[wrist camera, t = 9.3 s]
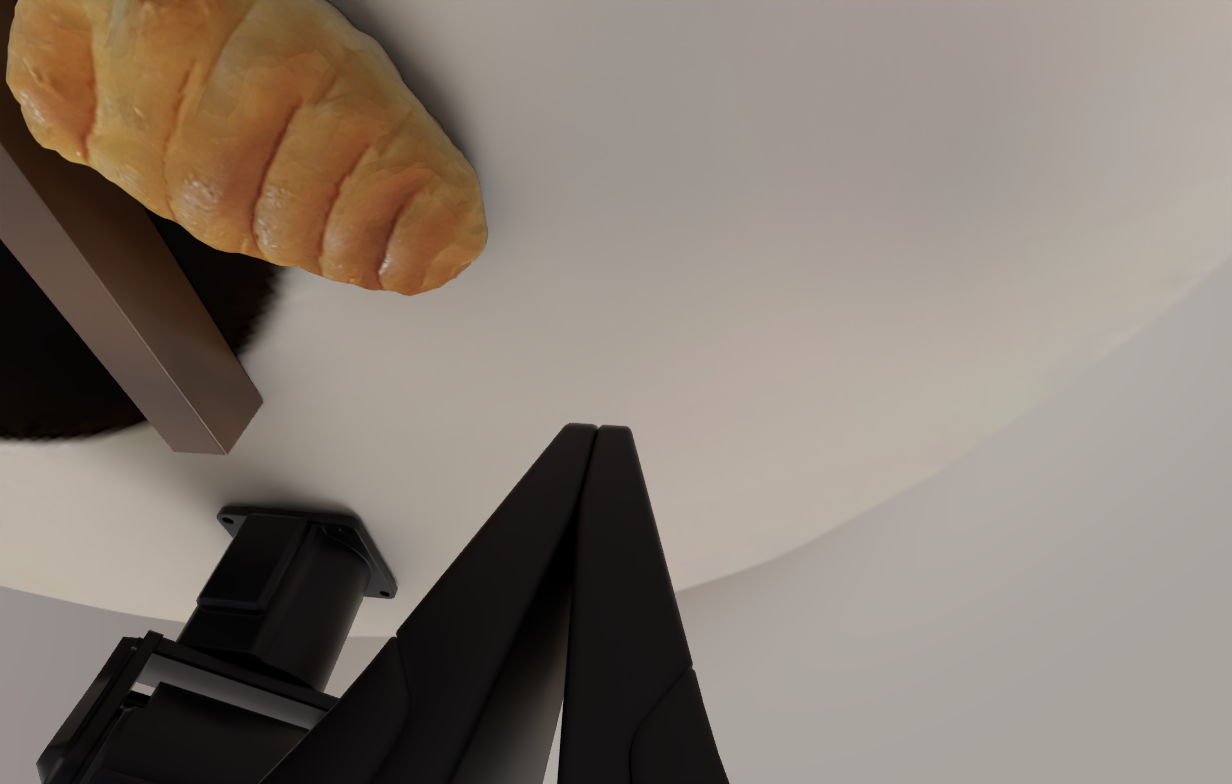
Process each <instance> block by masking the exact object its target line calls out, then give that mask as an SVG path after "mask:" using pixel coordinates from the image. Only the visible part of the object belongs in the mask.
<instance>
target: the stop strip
mask: <svg viewBox="0 0 1232 784" xmlns="http://www.w3.org/2000/svg"><path fill="white" fill-rule="evenodd" d="M16 4H17V2H16V0H0V239H1V240H2V241H3V242H4V244H5V245H6V246H7V247H8V249H9V250H10V251H11V252H12V253H13V255H14V256H15V257H16V258H17V260H18V261H19V262H20V263H21V264H22V266H23V267H24V268H25V269H26V271H27V272H28V273H29V274H30V276H31V277H32V278H33V279H34V280H35V282H36V283H37V284H38V285H39V287H40V288H41V289H42V290H43V291H44V293H45V294H46V295H47V296H48V298H49V299H50V300H51V301H52V303H53V304H54V305H55V306H56V307H57V309H58V310H59V311H60V312H61V314H62V315H63V316H64V317H65V318H66V320H67V321H68V322H69V323H70V325H71V326H72V327H73V328H74V330H75V331H76V332H77V333H78V334H79V336H80V337H81V338H82V339H83V341H84V342H85V343H86V344H87V346H88V347H89V348H90V349H91V350H92V352H93V353H94V354H95V355H96V357H97V358H98V359H99V360H100V361H101V363H102V364H103V365H104V366H105V368H106V369H107V370H108V371H109V373H110V374H111V375H112V376H113V377H114V379H115V380H116V381H117V382H118V384H119V385H120V386H121V387H122V388H123V390H124V391H125V392H126V393H127V395H128V396H129V397H130V398H131V400H132V401H133V402H134V403H135V404H136V406H137V407H138V408H139V409H140V411H141V412H142V413H143V414H144V415H145V417H146V418H147V419H148V420H149V422H150V423H151V424H152V425H153V427H154V428H155V429H156V430H157V431H158V433H159V434H160V435H161V436H162V438H163V439H164V440H165V441H166V442H167V444H168V445H169V446H170V447H171V449H172V450H173V451H175V452H187V453H200V454H214V455H228V454H229V452H230V451H231V449H232V448H233V446H234V445H235V443H236V442H237V440H238V439H239V437H240V436H241V434H242V433H243V432H244V430H245V429H246V427H247V426H248V424H249V423H250V421H251V420H252V418H253V417H254V415H255V414H256V412H257V411H258V409H259V408H260V406H261V405H262V404H263V400H262V399H261V397H260V396H259V394H258V392H257V391H256V389H255V387H254V386H253V384H252V383H251V381H250V379H249V378H248V376H247V374H246V373H245V371H244V370H243V368H242V366H241V365H240V363H239V362H238V360H237V358H236V357H235V355H234V353H233V352H232V350H231V349H230V347H229V345H228V344H227V342H226V340H225V339H224V337H223V336H222V334H221V332H220V331H219V329H218V327H217V326H216V324H215V323H214V321H213V319H212V318H211V316H210V315H209V313H208V311H207V310H206V308H205V306H204V305H203V303H202V302H201V300H200V298H199V297H198V295H197V293H196V292H195V290H194V289H193V287H192V285H191V284H190V282H189V280H188V279H187V277H186V276H185V274H184V272H183V271H182V269H181V268H180V266H179V264H178V263H177V261H176V259H175V258H174V256H173V255H172V253H171V251H170V250H169V248H168V246H167V245H166V243H165V242H164V240H163V238H162V237H161V235H160V233H159V232H158V230H157V229H156V227H155V225H154V224H153V222H152V221H151V219H150V217H149V216H148V214H147V212H146V211H145V209H144V208H143V206H142V204H141V203H140V202H139V201H138V200H137V199H135V198H134V197H133V196H131V195H130V194H128V193H127V192H126V191H125V190H123V189H122V188H121V187H120V186H118V185H117V184H116V183H114V182H111V181H110V180H108V179H107V178H105V177H104V176H103V175H102V174H101V173H99V172H98V171H97V170H95V169H93V168H92V167H90V166H87V165H84V164H80V163H75V162H70V161H69V160H67V159H65V158H64V157H62V156H61V155H60V154H59V153H58V152H57V151H56V150H51V149H47V148H44V147H42V146H41V145H40V144H39V143H38V142H37V141H36V140H35V138H34V137H33V135H32V134H31V132H30V131H29V128H28V126H27V124H26V122H25V119H24V117H23V114H22V111H21V104H20V103H19V102H18V101H17V100H16V98H15V97H14V95H13V93H12V91H11V89H10V87H9V86H8V84H7V82H6V71H7V61H8V44H9V39H10V30H11V25H12V22H13V19H14V17H15V6H16Z"/></svg>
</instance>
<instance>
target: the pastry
mask: <svg viewBox="0 0 1232 784" xmlns="http://www.w3.org/2000/svg"><path fill="white" fill-rule="evenodd" d="M6 82H7V84H8V86H9V87H10V89H11V91H12V93H13V95H14V97H15V98H16V100H17V101H18V102H19V103H20V104H21V111H22V114H23V117H24V119H25V122H26V124H27V126H28V128H29V131H30V132H31V134H32V135H33V137H34V138H35V140H36V141H37V142H38V143H39V144H40V145H41V146H42V147H44V148H47V149H51V150H56V151H57V152H58V153H59V154H60V155H61V156H62V157H64V158H65V159H67V160H69V161H70V162H75V163H80V164H84V165H87V166H90V167H92V168H93V169H95V170H97V171H98V172H99V173H101V174H102V175H103V176H104V177H105V178H107V179H108V180H110V181H111V182H114V183H116V184H117V185H118V186H120V187H121V188H122V189H123V190H125V191H126V192H127V193H128V194H130V195H131V196H133V197H134V198H135V199H137V200H138V201H139V202H141V203H142V204H143V205H144V206H146V207H147V208H148V209H149V210H151V211H153V212H154V213H156V214H157V215H159V216H161V217H164V218H167V219H170V220H173V221H175V222H176V223H178V224H180V225H182V226H183V227H184V228H185V229H186V230H187V231H188V232H190V233H191V234H192V235H193V236H194V237H195V238H197V239H198V240H200V241H202V242H204V243H206V244H207V245H209V246H211V247H213V248H215V249H217V250H221V251H225V252H234V253H242V254H246V255H249V256H252V257H256V258H260V259H263V260H266V261H268V262H271V263H274V264H277V265H280V266H292V267H300V268H303V269H304V270H306V271H308V272H311V273H314V274H317V275H320V276H322V277H325V278H327V279H330V280H332V281H337V282H343V283H348V284H354V285H357V286H360V287H362V288H365V289H368V290H386V291H396V292H398V293H401V294H403V295H408V296H411V295H415V294H418V293H422V292H426V291H429V290H432V289H436V288H439V287H441V286H442V285H444V284H445V283H446V282H448V281H449V280H451V279H454V278H456V277H457V276H458V275H459V274H460V273H461V272H462V271H463V270H464V269H465V268H467V267H468V266H469V265H470V264H471V262H472V261H473V260H475V259H476V258H477V257H478V256H479V255H480V254H481V253H482V251H483V249H484V247H485V246H486V242H487V237H488V228H487V223H486V218H485V212H484V205H483V198H482V192H481V187H480V184H479V180H478V176H477V173H476V171H475V170H474V169H473V167H472V166H471V165H470V164H469V163H468V161H467V160H466V159H465V157H464V155H463V152H462V151H460V150H458V149H457V148H456V147H455V146H454V145H453V144H452V143H451V141H450V139H449V137H448V136H446V135H445V132H444V130H443V128H442V126H441V124H440V123H439V122H438V121H437V119H436V118H435V117H433V116H431V115H429V114H428V112H427V111H426V109H425V108H424V106H423V105H422V104H421V102H420V101H419V100H418V99H417V98H416V97H415V96H414V95H413V93H412V92H411V91H410V90H409V89H408V87H407V86H406V85H405V83H404V82H403V80H402V77H401V75H400V72H399V70H398V68H397V66H396V65H395V63H394V62H393V61H392V60H391V58H390V57H389V56H388V54H387V53H386V52H385V50H384V49H383V48H382V46H381V45H380V44H379V43H378V42H377V41H376V40H375V39H374V38H373V37H371V36H369V35H367V34H365V33H363V32H360V31H358V30H357V29H356V27H355V26H354V25H353V24H351V23H350V22H349V21H348V20H347V19H346V18H345V16H344V15H343V14H342V13H341V12H340V11H339V10H338V9H337V8H336V7H335V6H333V5H332V4H331V3H329V2H328V1H327V0H18V2H17V4H16V6H15V17H14V19H13V22H12V25H11V30H10V39H9V44H8V61H7V71H6Z"/></svg>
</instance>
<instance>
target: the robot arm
mask: <svg viewBox="0 0 1232 784" xmlns="http://www.w3.org/2000/svg"><path fill="white" fill-rule="evenodd" d="M217 519H218V521H219V522H220V523H221V524H222V525H223V527H224V528H225V529H226V530H227V531H228V533H229V534H230V535H231V536H232V537H233V540H232V541H231V543H230V544H229V546H228V548H227V549H226V551H225V553H224V554H223V556H222V558H221V559H220V561H219V563H218V564H217V566H216V568H215V569H214V571H213V573H212V574H211V576H210V578H209V579H208V581H207V582H206V584H205V586H204V587H203V589H202V591H201V592H200V594H199V596H198V597H197V600H196V601H197V604H198V605H197V607H196V608H195V610H194V612H193V613H192V615H191V617H190V618H189V620H188V622H187V623H186V625H185V627H184V628H183V630H182V632H181V633H180V635H179V637H178V638H177V640H176V642H175V641H172V640H169V639H167V638H163V634H160V633H157V632H154V631H152V630H149V631H148V633H147V634H146V636H145V637H144V639H143V638H140V637H139V638H133V637H123V638H122V640H121V641H120V643H119V644H118V646H117V647H116V649H115V650H114V652H113V653H112V654H111V656H110V658H109V659H108V661H107V662H106V664H105V665H104V667H103V668H102V670H101V671H100V673H99V674H98V676H97V677H96V678H95V680H94V681H93V683H92V684H91V686H90V687H89V689H88V690H87V691H86V693H85V694H84V696H83V697H82V699H81V700H80V701H79V702H78V704H77V705H76V707H75V708H74V709H73V711H72V712H71V714H70V715H69V717H68V718H67V719H66V721H65V722H64V724H63V725H62V726H61V728H60V729H59V730H58V732H57V733H56V735H55V736H54V737H53V739H52V740H51V742H50V743H49V744H48V746H47V747H46V749H45V750H44V752H43V753H42V755H41V756H40V758H39V759H38V761H37V763H36V765H37V769H38V773H39V776H40V780H41V783H42V784H542V783H543V779H544V775H545V771H546V767H547V762H548V759H549V754H550V750H551V746H552V742H553V738H554V734H555V730H556V726H557V721H558V717H559V713H560V709H561V705H562V701H563V700H564V701H563V713H562V726H561V739H560V753H559V767H558V781H557V784H729V781H728V778H727V776H726V773H725V770H724V768H723V765H722V762H721V759H720V756H719V754H718V750H717V747H716V744H715V740H714V737H713V734H712V730H711V727H710V724H709V720H708V717H707V714H706V710H705V707H704V704H703V700H702V696H701V692H700V688H699V684H698V681H697V677H696V673H695V671H694V670H693V669H692V665H693V663H692V659H691V655H690V651H689V648H688V644H687V640H686V636H685V632H684V629H683V625H682V621H681V617H680V613H679V610H678V606H677V602H676V598H675V594H674V591H673V587H672V583H671V579H670V575H669V572H668V568H667V564H666V560H665V556H664V553H663V549H662V545H661V541H660V537H659V534H658V530H657V526H656V522H655V518H654V515H653V511H652V507H651V503H650V499H649V496H648V492H647V488H646V484H645V480H644V477H643V473H642V469H641V465H640V461H639V458H638V454H637V450H636V446H635V442H634V439H633V435H632V432H631V429H630V428H629V427H627V426H615V425H602V426H600V428H598V427H597V426H596V425H594V424H582V423H569V424H567V425H565V426H564V427H563V428H562V430H561V431H560V432H559V433H558V435H557V436H556V437H555V438H554V439H553V441H552V442H551V443H550V444H549V446H548V447H547V448H546V449H545V450H544V452H543V453H542V454H541V455H540V457H539V458H538V459H537V460H536V461H535V463H534V464H533V465H532V466H531V468H530V469H529V470H528V471H527V472H526V474H525V475H524V476H523V477H522V479H521V480H520V481H519V482H518V483H517V485H516V486H515V487H514V488H513V490H512V491H511V492H510V493H509V494H508V496H507V497H506V498H505V499H504V501H503V502H502V503H501V504H500V505H499V507H498V508H497V509H496V510H495V512H494V513H493V514H492V515H491V516H490V518H489V519H488V520H487V521H486V522H485V524H484V525H483V526H482V527H481V529H480V530H479V531H478V532H477V533H476V535H475V536H474V537H473V538H472V540H471V541H470V542H469V543H468V544H467V546H466V547H465V548H464V549H463V551H462V552H461V553H460V554H459V555H458V557H457V558H456V559H455V560H454V562H453V563H452V564H451V565H450V566H449V568H448V569H447V570H446V571H445V573H444V574H443V575H442V576H441V577H440V579H439V580H438V581H437V582H436V584H435V585H434V586H433V587H432V588H431V590H430V591H429V592H428V593H427V595H426V596H425V597H424V598H423V599H422V601H421V602H420V603H419V604H418V606H417V607H416V608H415V609H414V610H413V612H412V613H411V614H410V615H409V617H408V618H407V619H406V620H405V621H404V623H403V624H402V625H401V626H400V628H399V629H398V630H397V632H396V635H397V638H396V637H391V638H390V639H389V640H388V642H387V643H386V644H385V645H384V647H383V648H382V649H381V650H380V652H379V653H378V654H377V655H376V657H375V658H374V659H373V660H372V662H371V663H370V664H369V665H368V666H367V667H366V669H365V670H364V671H363V672H362V674H360V676H359V677H358V678H357V679H356V680H355V681H354V683H353V684H352V685H351V686H350V687H349V688H348V689H347V691H346V692H345V693H344V694H343V695H342V697H341V698H337V697H334V696H331V695H328V694H325V693H323V692H324V690H325V688H326V685H327V683H328V680H329V678H330V676H331V673H332V671H333V669H334V666H335V664H336V661H337V659H338V657H339V654H340V652H341V649H342V647H343V645H344V642H345V640H346V638H347V635H348V633H349V631H350V628H351V626H352V623H353V621H354V619H355V616H356V614H357V612H358V609H359V607H360V604H361V602H362V600H363V597H364V596H365V597H376V598H386V599H392V598H394V597H395V595H396V592H397V590H398V588H397V586H396V584H395V582H394V580H393V579H392V577H391V575H390V573H389V572H388V570H387V568H386V566H385V565H384V563H383V561H382V560H381V558H380V556H379V554H378V553H377V551H376V549H375V547H374V546H373V544H372V542H371V540H370V539H369V537H368V535H367V533H366V532H365V530H364V528H363V527H362V525H361V523H360V522H359V521H358V520H356V519H355V518H352V517H348V516H339V515H327V514H315V513H303V512H291V511H279V510H267V509H255V508H243V507H230V506H224V507H222V508H221V510H220V511H219V513H218V514H217ZM136 682H138V683H141V684H145V685H148V686H151V687H154V688H156V689H155V690H154V692H153V693H152V695H151V696H148V695H145V694H142V693H139V692H135V691H132V688H133V687H134V685H135V683H136ZM563 697H564V699H563Z"/></svg>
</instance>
